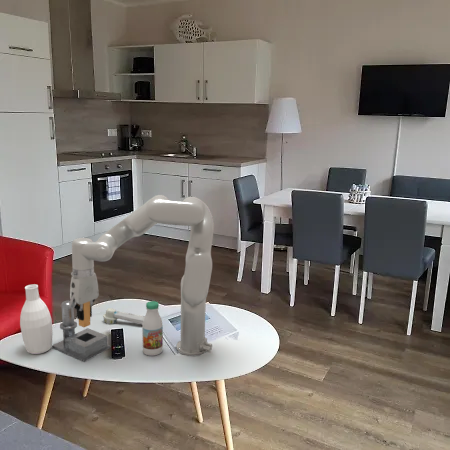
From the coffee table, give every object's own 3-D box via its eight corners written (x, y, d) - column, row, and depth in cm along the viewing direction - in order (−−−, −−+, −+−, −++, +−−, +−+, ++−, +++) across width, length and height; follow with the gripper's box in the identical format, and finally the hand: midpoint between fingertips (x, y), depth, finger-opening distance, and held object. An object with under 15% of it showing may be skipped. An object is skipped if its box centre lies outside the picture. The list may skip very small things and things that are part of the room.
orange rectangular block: (90, 324, 174) (89, 295, 171) (84, 327, 172) (83, 297, 169) (84, 322, 176) (84, 293, 173) (78, 325, 173) (77, 295, 170)
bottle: (17, 353, 172) (7, 290, 166) (37, 339, 182) (29, 279, 176) (41, 357, 169) (33, 293, 163) (61, 343, 179) (53, 282, 173)
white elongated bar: (157, 322, 194) (102, 308, 197) (155, 336, 195) (100, 322, 198) (161, 316, 199) (107, 303, 202) (159, 330, 200) (105, 317, 203)
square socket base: (110, 347, 178) (109, 307, 174) (84, 362, 168) (82, 319, 164) (77, 334, 188) (75, 295, 184) (50, 346, 178) (47, 306, 174)
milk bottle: (138, 351, 177) (137, 302, 172) (154, 344, 182) (154, 297, 177) (150, 358, 172) (150, 309, 167) (166, 351, 177) (166, 303, 172)
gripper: (72, 279, 160) (73, 328, 164) (107, 268, 174) (107, 313, 178) (58, 275, 164) (59, 322, 168) (93, 264, 177) (94, 308, 182)
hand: (84, 317), depth 173 cm, fingers closed on orange rectangular block, 3 cm apart
